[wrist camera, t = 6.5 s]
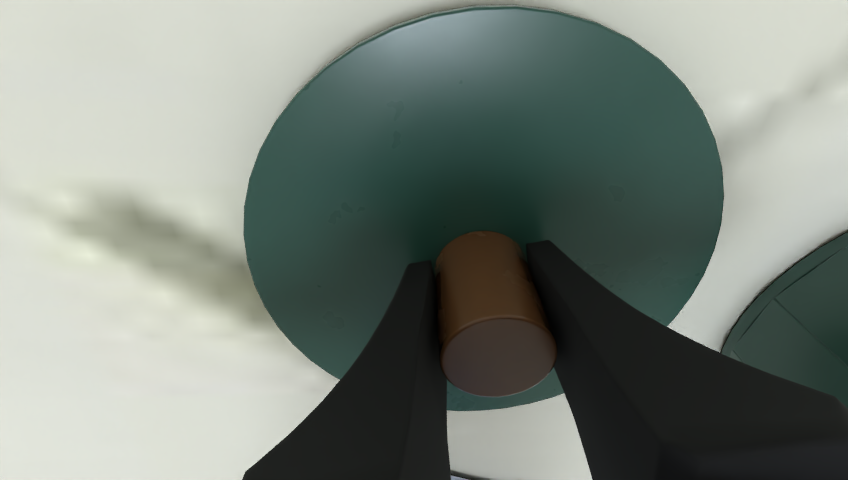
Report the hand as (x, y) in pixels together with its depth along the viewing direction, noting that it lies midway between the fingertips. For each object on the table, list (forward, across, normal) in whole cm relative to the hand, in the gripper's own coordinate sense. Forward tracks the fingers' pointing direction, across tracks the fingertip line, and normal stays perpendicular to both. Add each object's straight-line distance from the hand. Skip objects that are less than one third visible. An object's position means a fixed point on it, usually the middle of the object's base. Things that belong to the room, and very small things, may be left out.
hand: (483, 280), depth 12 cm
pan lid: (+1, 0, 0) cm, 1 cm away
